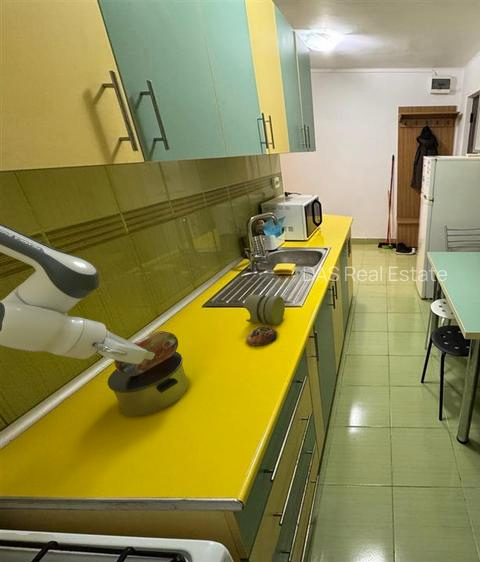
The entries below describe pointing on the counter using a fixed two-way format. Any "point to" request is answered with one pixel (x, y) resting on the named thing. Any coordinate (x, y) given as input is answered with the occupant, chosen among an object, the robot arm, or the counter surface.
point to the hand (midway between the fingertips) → (143, 351)
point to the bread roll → (261, 335)
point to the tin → (156, 343)
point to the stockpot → (150, 387)
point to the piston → (265, 309)
